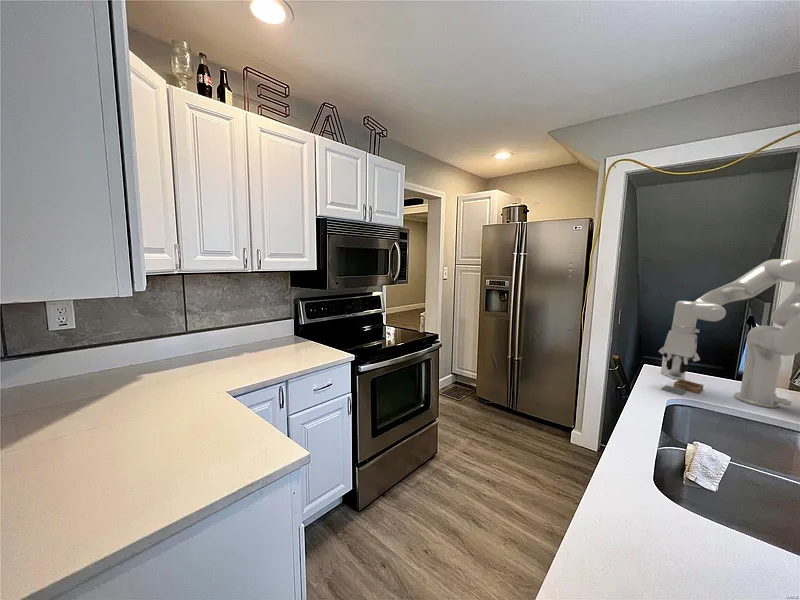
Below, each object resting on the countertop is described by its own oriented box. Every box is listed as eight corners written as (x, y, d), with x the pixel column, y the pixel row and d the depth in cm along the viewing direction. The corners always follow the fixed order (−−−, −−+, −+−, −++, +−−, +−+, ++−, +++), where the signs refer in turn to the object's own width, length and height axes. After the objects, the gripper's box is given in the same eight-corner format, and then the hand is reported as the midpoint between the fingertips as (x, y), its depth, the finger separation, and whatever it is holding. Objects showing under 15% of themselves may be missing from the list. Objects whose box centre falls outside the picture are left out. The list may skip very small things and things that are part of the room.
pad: (686, 391, 143) (686, 390, 143) (681, 395, 138) (681, 393, 138) (666, 386, 148) (666, 385, 148) (661, 389, 144) (661, 388, 144)
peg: (682, 376, 142) (685, 356, 141) (679, 377, 140) (683, 357, 139) (670, 373, 145) (674, 353, 144) (667, 374, 143) (671, 355, 142)
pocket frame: (702, 389, 146) (703, 384, 146) (698, 393, 141) (699, 388, 141) (678, 383, 153) (679, 378, 152) (673, 387, 147) (674, 382, 147)
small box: (684, 379, 158) (687, 358, 157) (672, 379, 158) (676, 358, 157) (671, 373, 166) (674, 353, 165) (660, 373, 166) (663, 353, 165)
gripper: (711, 333, 135) (703, 375, 138) (661, 325, 149) (655, 363, 151) (707, 335, 131) (699, 378, 133) (656, 326, 144) (649, 366, 147)
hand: (675, 370), depth 142 cm, fingers closed on peg, 4 cm apart
